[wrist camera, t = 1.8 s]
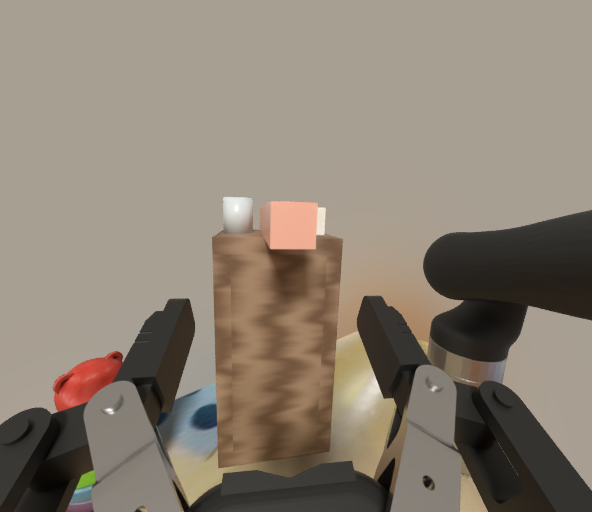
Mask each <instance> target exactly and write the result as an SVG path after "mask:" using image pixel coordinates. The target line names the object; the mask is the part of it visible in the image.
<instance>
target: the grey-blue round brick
mask: <svg viewBox="0 0 592 512" xmlns="http://www.w3.org/2000/svg"><path fill="white" fill-rule="evenodd" d="M223 217H224V233H236V234H245V233H253V199H252V198H241V197H223Z"/></svg>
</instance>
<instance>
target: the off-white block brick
mask: <svg viewBox="0 0 592 512" xmlns="http://www.w3.org/2000/svg"><path fill="white" fill-rule="evenodd" d="M325 210H326V209H325V208H318V209H317V231H316V235H324V230H325V229H324V228H325Z"/></svg>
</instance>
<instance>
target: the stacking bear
mask: <svg viewBox="0 0 592 512" xmlns="http://www.w3.org/2000/svg"><path fill="white" fill-rule="evenodd" d="M122 359H123V356H122V354H121V353H120V352H116V351H115V352H112V353H109V354H108V355H107V356H106V357H104V358H96V359H91V360H88V361H85V362H82V363H80V364H79V365H77V366H75V367H74V368H72V369H71V370H70V371H69V372H68V373H67V374H64V375H62V376H60V377H59V378H58V379H56V381H55V382H54V385H53V390H54V392H55V396H54V401H55V406H56V408H57V410H58V412H60V411H63V410H66V409H69V408H71V407H74V406H77V405H80V404H83V403H86V402H88V401H89V400H90V399H91V398H92V397H93V396H94V395H95V394H96V393H97V392H98V391H99V390H101V389H102V388H103V387H105V386H107V385H109V384H111V383H112V382H113V380H114V379H115V377H116V375H117V373H118V371H119V369H120V368H121V366H122V364H123V362H122ZM94 484H95V473H94V470H93V471H90V472H88V473H86V474H83V475H82V476H81V478H80V481H79V483H78V485H77V487H76V490H75V492H74V494H73V497H72V499H71V501H70V503H69V506H68V508H67V510H66V512H94V510H93V504H92V497H91V489H92V486H93V485H94Z"/></svg>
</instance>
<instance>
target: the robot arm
mask: <svg viewBox="0 0 592 512" xmlns="http://www.w3.org/2000/svg"><path fill="white" fill-rule="evenodd" d="M423 269H424V274H425V276H426V279H427V281H428V283H429V284H430V286H431V287H432V288H433V289H434V290H435V291H436V292H438V293H439V294H440V295H443V296H445V297H447V298H450V299H454V300H464V301H463V302H462V303H461V304H460V305H459V306H457V307H455V308H454V309H452V310H450V311H447V312H444V313H442V314H439V315H437V316H436V317H435V318H434V319H433V321H432V324H431V330H430V337H429V345H428V353H427V356H426V355H425V353H424V351H423V350H422V348H421V346H420V345H419V343H418V341H417V340H416V338H415V336H414V335H413V334H412V332H411V330H410V328H409V327H408V326H407V323H406V322H405V320H404V318H403V317H402V315H401V314H400V313H399V312H398V311H397V310H395V309H394V308H393V307H392V306H391V307H388V306H387V305H386V303H385V301H384V300H383V298H382V297H381V296H364V298H363V300H362V304H361V307H360V311H359V314H358V318H357V327H358V332H359V334H360V337H361V339H362V342H363V345H364V347H365V350H366V353H367V355H368V358H369V360H370V363H371V366H372V368H373V371H374V374H375V376H376V379H377V381H378V384H379V387H380V389H381V392H382V395H383V397H384V399H385V398H394V401H395V403H396V406H395V408H394V412H393V416H392V420H391V424H390V428H389V431H388V435H387V439H386V443H385V447H384V450H383V454H382V456H381V459H380V461H379V464H378V466H377V469H376V473H375V476H374V479H372V478H371V477H369V476H367V475H365V474H363V473H361V472H358V471H355V470H354V468H353V464H352V461H346V462H335V463H325V464H320V465H318V466H316V467H314V468H312V469H309V470H307V471H305V472H303V473H301V474H299V475H297V476H294V477H292V478H286V477H282V476H278V475H274V474H270V473H266V472H262V471H257V470H253V471H243V472H233V473H223V479H222V483H221V484H219V485H216V486H215V487H213V488H211V489H210V490H208V491H207V492H206V493H204V494H203V495H202V496H200V497H199V498H198V499H197V500H196V501H195V502H194V503H193V504H192V505H191V506H190V505H189V502H188V500H187V497H186V495H185V493H184V490H183V488H182V486H181V483H180V481H179V479H178V477H177V475H176V472H175V470H174V468H173V465H172V463H171V460H170V458H169V455H168V453H167V450H166V448H165V445H164V443H163V440H162V438H161V435H160V433H159V430H158V428H157V426H156V425H157V422H158V419H159V416H160V413H165V412H171V409H172V406H173V403H174V400H175V396H176V393H177V390H178V387H179V383H180V380H181V377H182V373H183V370H184V367H185V363H186V360H187V357H188V354H189V350H190V347H191V344H192V340H193V337H194V333H195V321H194V317H193V312H192V308H191V304H190V300H189V299H169V300H168V302H167V304H166V306H165V308H164V310H163V311H156V312H155V313H154V314H153V315H151V316H150V317H149V318H148V319H147V320H146V321H145V323H144V325H143V327H142V329H141V330H140V334H138V336H137V338H136V340H135V343H134V344H133V345H132V347H131V349H130V351H129V353H128V355H127V356H126V358H125V360H124V362H123V364H122V366H121V368H120V369H119V371H118V373H117V375H116V377H115V379H114V380H113V382H112V383H111V384H109V385H107V386H105V387H103V388H102V389H101V390H99V391H98V392H97V393H96V394H95V395H94V396H93V397H92V398H91V399H90V400H89V401H88V402H86V403H83V404H80V405H77V406H74V407H71V408H69V409H66V410H63V411H60V412H57V413H54V414H50V412H49V411H48V410H46V409H44V408H32V409H28V410H25V411H22V412H20V413H18V414H16V415H14V416H13V417H11V418H9V419H8V420H6V421H5V422H4V423H2V424H1V425H0V512H66V510H67V508H68V506H69V503H70V501H71V499H72V497H73V494H74V492H75V490H76V487H77V485H78V483H79V481H80V478H81V476H82V475H83V474H86V473H88V472H90V471H93V470H94V473H95V484H94V485H93V486H92V489H91V497H92V504H93V510H94V512H460V489H461V474H465V475H471V477H472V479H473V481H474V483H475V485H476V487H477V489H478V492H479V494H480V496H481V498H482V500H483V502H484V504H485V506H486V508H487V510H488V512H592V491H591V489H590V488H589V487H588V486H587V484H586V483H585V482H584V481H583V479H582V478H581V477H580V475H579V474H578V473H577V471H576V470H575V469H574V468H573V466H572V465H571V464H570V462H569V461H568V460H567V458H566V457H565V456H564V455H563V453H562V452H561V451H560V449H559V448H558V447H557V446H556V444H555V443H554V442H553V440H552V439H551V438H550V436H549V435H548V434H547V433H546V431H545V430H544V429H543V427H542V426H541V425H540V423H539V422H538V421H537V420H536V418H535V417H534V416H533V414H532V413H531V412H530V410H529V409H528V408H527V407H526V405H525V404H524V403H523V401H522V400H521V399H520V398H519V397H518V396H517V395H516V394H515V393H514V392H513V391H512V390H511V389H509V388H508V387H506V386H504V385H503V384H502V382H503V376H504V371H505V366H506V361H507V355H508V351H509V348H510V346H511V345H512V344H513V343H514V342H515V341H516V340H517V339H518V337H519V335H520V332H521V330H522V326H523V322H524V319H525V315H526V312H527V308H528V306H533V307H537V308H541V309H545V310H549V311H553V312H557V313H562V314H566V315H570V316H574V317H579V318H583V319H588V320H592V210H590V211H585V212H581V213H576V214H572V215H568V216H563V217H559V218H555V219H551V220H547V221H542V222H538V223H535V224H531V225H526V226H522V227H517V228H512V229H505V230H497V231H485V232H472V233H471V232H469V233H467V232H456V233H449V234H446V235H444V236H442V237H440V238H439V239H437V240H436V241H435V242H434V243H433V244H432V245H431V246H430V248H429V249H428V250H427V253H426V255H425V258H424V262H423ZM498 443H499V444H498ZM500 446H501V447H500ZM501 448H502V449H501ZM503 451H504V452H503ZM504 453H505V454H506V455H505V454H504ZM506 456H507V457H506ZM508 459H509V460H508ZM509 461H510V462H509ZM511 464H512V465H511ZM512 466H513V467H512ZM514 469H515V470H514ZM515 471H516V472H517V473H516V472H515ZM517 474H518V475H517ZM518 476H519V477H518Z"/></svg>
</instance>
